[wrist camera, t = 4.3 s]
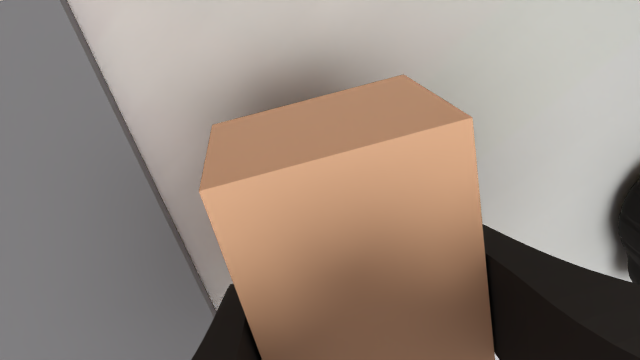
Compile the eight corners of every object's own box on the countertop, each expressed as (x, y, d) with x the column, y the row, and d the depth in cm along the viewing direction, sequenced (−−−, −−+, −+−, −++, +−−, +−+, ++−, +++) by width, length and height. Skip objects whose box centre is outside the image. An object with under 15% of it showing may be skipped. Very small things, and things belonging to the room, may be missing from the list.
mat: (239, 360, 24) (239, 369, 23) (7, 435, 24) (1, 446, 23) (58, -15, 16) (52, -15, 16) (-287, 91, 16) (-306, 95, 15)
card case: (403, 74, 12) (472, 117, 8) (443, 337, 16) (502, 445, 12) (212, 124, 12) (199, 191, 8) (298, 379, 16) (315, 501, 12)
